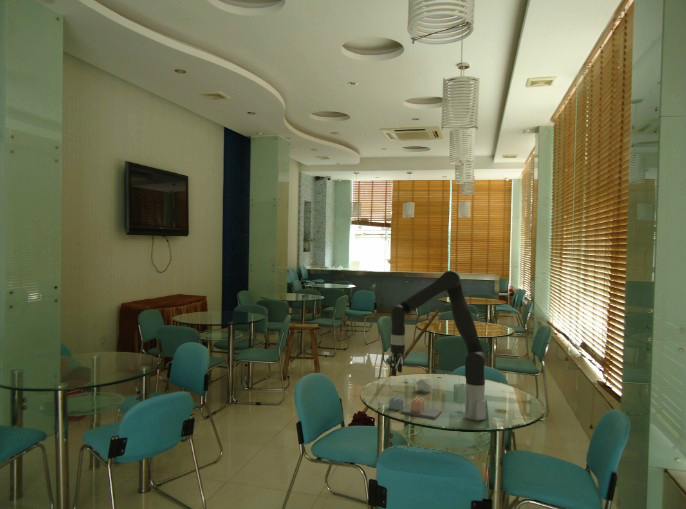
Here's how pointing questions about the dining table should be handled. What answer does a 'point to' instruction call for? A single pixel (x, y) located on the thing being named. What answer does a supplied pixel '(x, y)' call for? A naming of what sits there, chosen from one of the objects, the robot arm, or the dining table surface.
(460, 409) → the dining table surface
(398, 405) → the brick slate
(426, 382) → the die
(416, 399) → the brick terracotta
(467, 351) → the robot arm
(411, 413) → the baseplate
